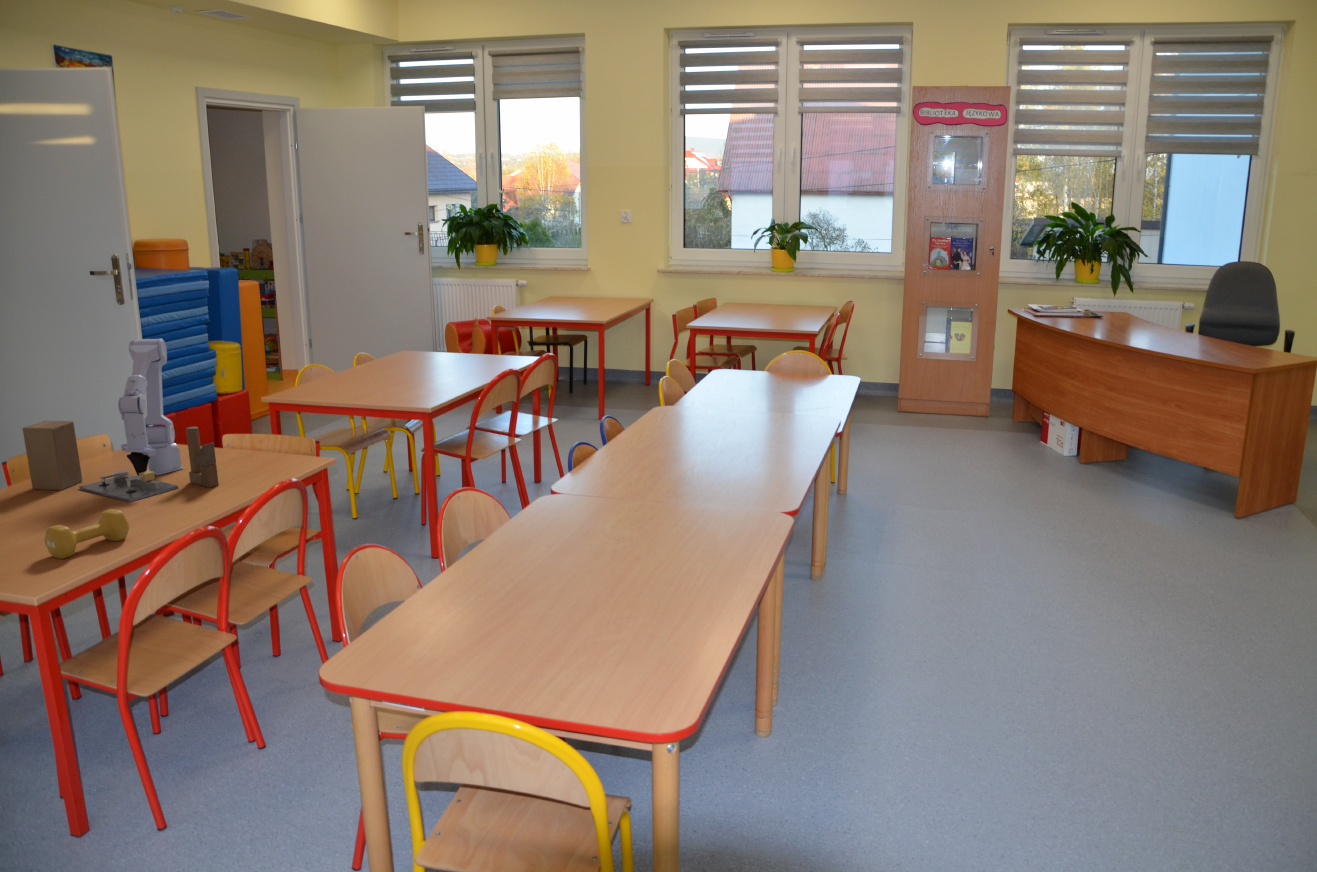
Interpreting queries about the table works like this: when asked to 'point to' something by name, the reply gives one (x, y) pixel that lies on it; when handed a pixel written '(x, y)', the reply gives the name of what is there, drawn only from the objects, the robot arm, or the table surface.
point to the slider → (141, 477)
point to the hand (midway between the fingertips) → (141, 475)
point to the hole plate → (120, 489)
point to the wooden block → (52, 455)
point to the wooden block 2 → (201, 460)
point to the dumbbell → (86, 533)
